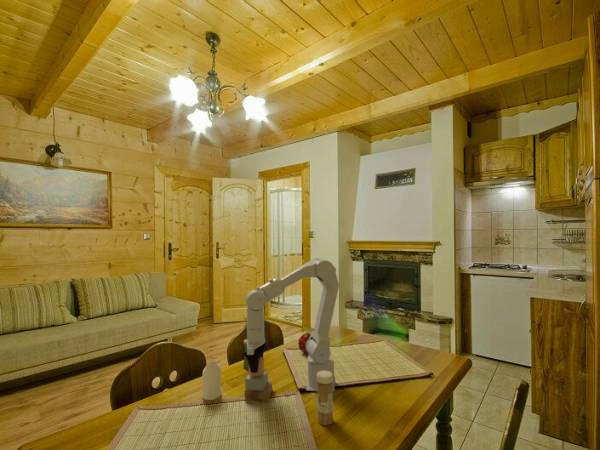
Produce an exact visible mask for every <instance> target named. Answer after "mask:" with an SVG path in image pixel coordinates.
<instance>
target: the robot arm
mask: <svg viewBox="0 0 600 450" xmlns="http://www.w3.org/2000/svg"><path fill="white" fill-rule="evenodd" d="M336 272H337V269H336V267H335V266H334V265H333V263H332V262H331V261H330V260H327V259H325V260H324V259H321V258H313V259H312V260H309V261H307V262H305V263H304V264H302V265H301V266H298V268H296V269H294V270H293V271H291V272H290V273H288V274H287V275H285V276H284V277H282V278H276V277H275V278H269V279H268V282H266V283H264V284H263V285H261V286H259V285H258V286H256V289H253V290H250V291H249V292H247V294H246V295H245V298H244V300H245V303H246V305H247V306H246V307H247V308H246V339H244V340H243V344H244V343H246V344H247V350H244V351H243V355H244V356H245V357H246V358H247V360H248V363H249V367H250V371H251V373H257V372H258V367H259V359H260V356H261V357H263V358H264V352H265V350H266V347H267V344H268V342H267V341H266V338H265V314H264V313H265V312H264V307H265V305H266V303H269V302H271V301H272V300H274V299H276V298H278V297H279V296H281V295H282V294H284V292H285V289H286V288H287V287H289V286H291V285H293V284H295V283H297V282H299V281H301V280H302V279H304V278H316V279H317V280H318V281H319V283H320V284H321V285H322V292H321V296H320V301H319V305H318V310H317V315H316V319H315V325H314V328H313V330H312V331H311V332H310V334H311V335H310V338H309V339H308V341H307V342H306V350H307V352H308V353H309V354H308V356H307V382H306V387H308V388H306V387H305V389H306V390H305V391H307V392H318V390H317V373H318V372H319V371H329V372H331V373H332V375H333V381H332V392H333V393H334V392H335V383H336V376H335V360H332V359H330V358H331V350H330V349H331V348H330V346H331V340H330V336H329V333H330V329H331V324H332V319H333V315H334V311H335V306H336V302H337V301H336V300H337V296H338V292H339V287H340V283H339V280H338V276H337V273H336Z"/></svg>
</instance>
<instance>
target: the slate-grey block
mask: <svg viewBox="0 0 600 450" xmlns="http://www.w3.org/2000/svg"><path fill="white" fill-rule="evenodd" d="M268 381H269V375H268V371H264V374H263V375H260V376H251V375H249V373H248V374H247V376H246V377H245V379H244V387H245V390H254V391H263V390H264V389H265V387H266V385H267V383H268Z"/></svg>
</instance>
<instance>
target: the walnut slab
mask: <svg viewBox="0 0 600 450" xmlns="http://www.w3.org/2000/svg"><path fill="white" fill-rule="evenodd" d="M272 391H273V380H268V383H267V385H266V387H265V389H264V390H263V391H254V390H245V391H244V402H253V403H254V402H259V403H261V402H262V403H268V402H269V400H270V397H271V394H272V393H273V392H272Z"/></svg>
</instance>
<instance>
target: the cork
mask: <svg viewBox="0 0 600 450" xmlns="http://www.w3.org/2000/svg"><path fill="white" fill-rule="evenodd" d="M243 346H244V348H245V350H247V344H246V343H244V342H243ZM245 350H244V351H245ZM243 358H244V359H243V366H242V367H243V369H244V370H246V371H249V363H248V360H247V358H246V357H245V355H244V357H243Z"/></svg>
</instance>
